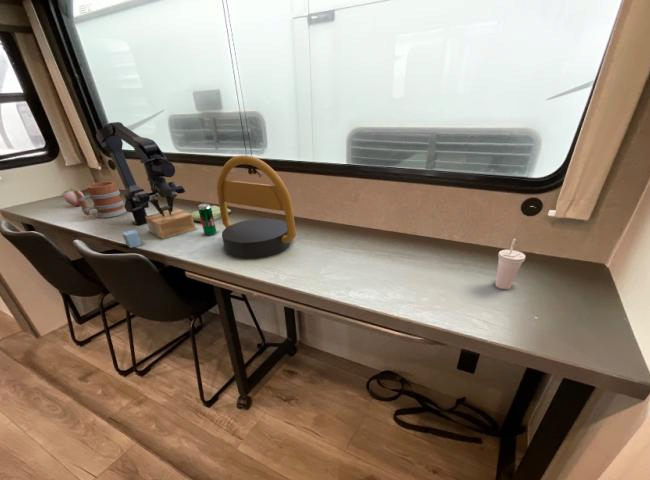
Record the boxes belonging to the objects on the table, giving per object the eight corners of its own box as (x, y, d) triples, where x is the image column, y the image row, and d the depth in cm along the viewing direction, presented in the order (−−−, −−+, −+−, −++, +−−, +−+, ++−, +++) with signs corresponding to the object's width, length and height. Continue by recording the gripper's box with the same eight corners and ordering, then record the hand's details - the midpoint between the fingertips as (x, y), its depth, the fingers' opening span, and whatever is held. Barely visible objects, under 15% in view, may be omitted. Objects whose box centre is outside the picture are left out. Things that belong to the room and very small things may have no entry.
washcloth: (233, 212, 161) (231, 206, 159) (205, 224, 149) (203, 217, 147) (214, 209, 167) (212, 203, 165) (186, 220, 155) (184, 213, 153)
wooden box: (150, 231, 144) (145, 218, 141) (182, 222, 152) (178, 210, 149) (162, 239, 136) (158, 225, 132) (195, 229, 144) (192, 216, 141)
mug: (132, 212, 170) (121, 182, 162) (91, 223, 158) (77, 191, 150) (121, 208, 178) (110, 179, 170) (81, 218, 166) (68, 187, 158)
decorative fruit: (85, 202, 191) (78, 185, 185) (89, 205, 185) (81, 187, 180) (67, 206, 186) (58, 188, 180) (69, 209, 180) (61, 190, 175)
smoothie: (486, 281, 95) (497, 235, 87) (507, 279, 95) (521, 233, 88) (498, 292, 90) (511, 244, 82) (520, 290, 90) (536, 242, 82)
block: (126, 245, 132) (122, 232, 129) (138, 241, 134) (133, 229, 132) (130, 248, 129) (125, 235, 126) (142, 244, 132) (137, 232, 129)
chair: (246, 227, 142) (232, 148, 125) (314, 241, 126) (309, 151, 109) (201, 248, 125) (178, 159, 108) (274, 267, 109) (260, 166, 92)
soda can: (213, 236, 136) (206, 207, 129) (202, 235, 137) (194, 206, 130) (218, 231, 140) (212, 203, 134) (208, 231, 141) (201, 203, 135)
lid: (145, 218, 141) (141, 208, 139) (177, 209, 150) (175, 200, 147) (158, 225, 132) (154, 215, 130) (192, 216, 141) (189, 206, 138)
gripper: (138, 182, 122) (151, 223, 131) (185, 173, 133) (195, 211, 141) (128, 178, 129) (141, 217, 138) (174, 170, 140) (184, 206, 148)
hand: (166, 213), depth 141 cm, fingers closed on lid, 4 cm apart
